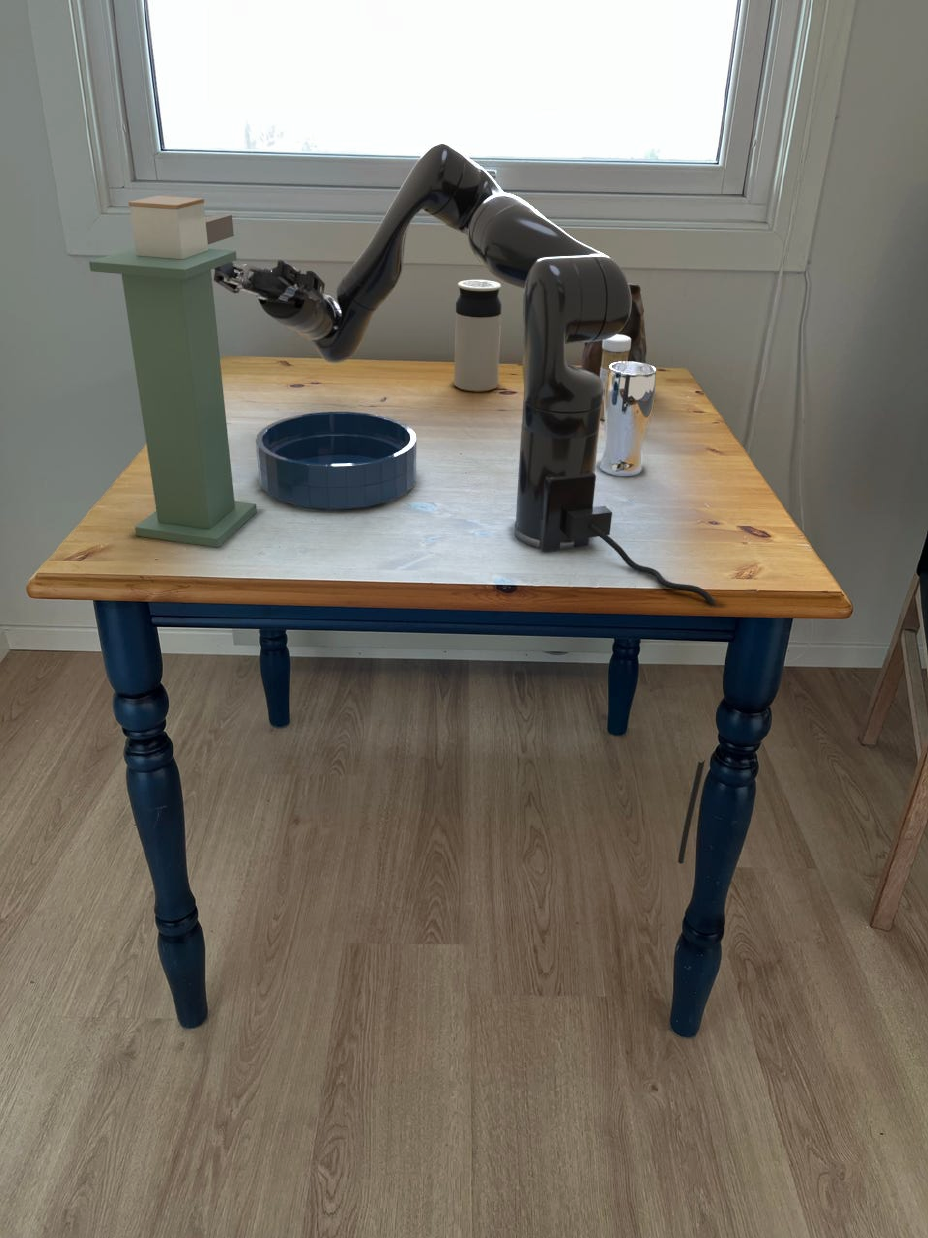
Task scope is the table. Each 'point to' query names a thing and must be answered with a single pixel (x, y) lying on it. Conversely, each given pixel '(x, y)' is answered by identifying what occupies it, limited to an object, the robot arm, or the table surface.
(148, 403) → the stand
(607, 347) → the sprinkles bottle
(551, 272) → the robot arm
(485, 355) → the travel mug
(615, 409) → the beer glass
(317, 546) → the table surface
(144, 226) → the mallet with brown handle
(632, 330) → the owl
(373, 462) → the bowl
